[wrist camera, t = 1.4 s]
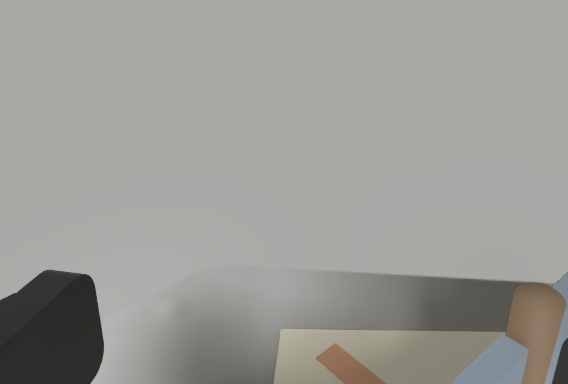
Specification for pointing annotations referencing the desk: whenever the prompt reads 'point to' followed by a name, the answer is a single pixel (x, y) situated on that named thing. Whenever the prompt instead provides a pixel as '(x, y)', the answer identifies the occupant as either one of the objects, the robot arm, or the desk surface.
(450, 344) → the card
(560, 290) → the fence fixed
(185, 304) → the desk surface
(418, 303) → the desk surface
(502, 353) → the fence panel
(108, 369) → the desk surface
